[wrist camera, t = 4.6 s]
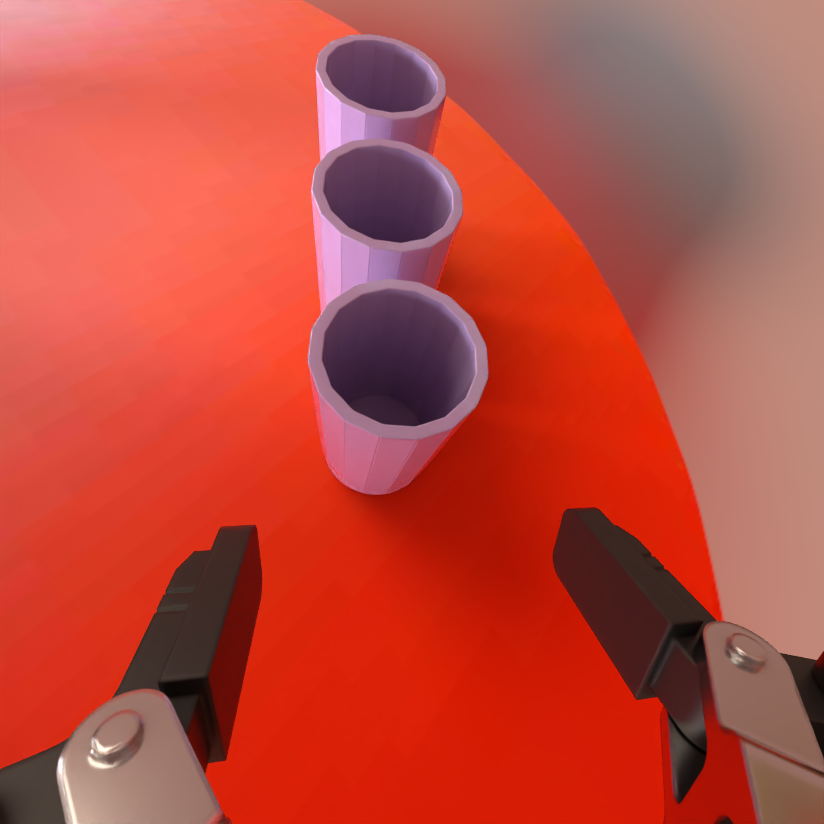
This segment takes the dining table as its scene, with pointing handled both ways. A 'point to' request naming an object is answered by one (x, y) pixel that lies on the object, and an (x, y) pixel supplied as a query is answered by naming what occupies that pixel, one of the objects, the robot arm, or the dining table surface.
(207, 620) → the robot arm
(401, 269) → the middle cup
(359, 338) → the end cup
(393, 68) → the cup
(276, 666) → the dining table surface
